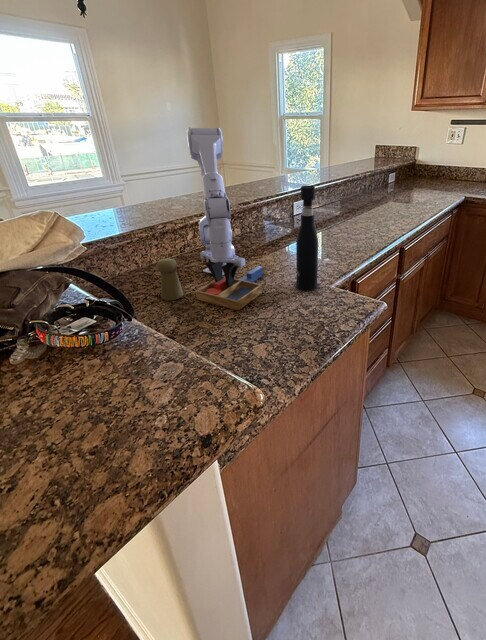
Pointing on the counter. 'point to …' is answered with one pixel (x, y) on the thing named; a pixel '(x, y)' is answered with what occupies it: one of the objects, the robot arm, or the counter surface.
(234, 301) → the wooden sorting tray
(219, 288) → the red spoon
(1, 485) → the counter surface
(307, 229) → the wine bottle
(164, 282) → the olive green pawn
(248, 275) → the blue spoon
